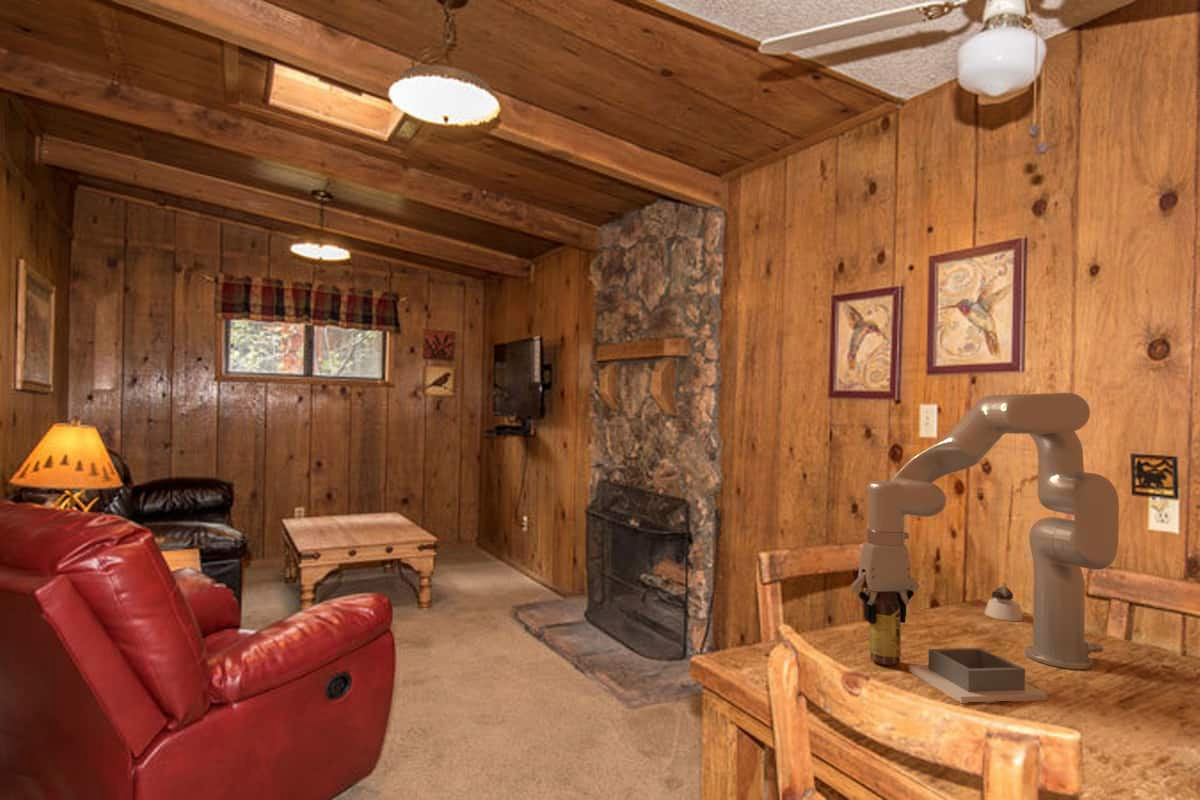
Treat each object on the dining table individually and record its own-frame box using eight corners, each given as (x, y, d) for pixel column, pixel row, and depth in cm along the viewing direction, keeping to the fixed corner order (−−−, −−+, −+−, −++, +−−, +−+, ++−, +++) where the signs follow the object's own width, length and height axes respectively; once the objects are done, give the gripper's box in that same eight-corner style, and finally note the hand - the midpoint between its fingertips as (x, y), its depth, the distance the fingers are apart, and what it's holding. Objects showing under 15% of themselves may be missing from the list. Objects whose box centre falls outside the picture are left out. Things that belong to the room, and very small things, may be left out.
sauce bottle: (903, 667, 142) (904, 572, 142) (872, 665, 143) (872, 571, 144) (896, 656, 148) (896, 566, 149) (866, 654, 150) (866, 564, 150)
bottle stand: (986, 668, 144) (986, 644, 144) (1046, 700, 128) (1047, 672, 128) (909, 671, 141) (909, 646, 141) (961, 703, 125) (961, 675, 125)
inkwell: (1021, 615, 187) (1021, 578, 187) (1029, 632, 171) (1030, 593, 171) (983, 610, 191) (983, 574, 191) (987, 626, 175) (988, 588, 175)
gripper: (911, 534, 151) (911, 615, 151) (839, 535, 149) (839, 617, 148) (932, 541, 144) (932, 625, 143) (857, 542, 141) (857, 628, 141)
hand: (885, 620), depth 146 cm, fingers closed on sauce bottle, 6 cm apart
